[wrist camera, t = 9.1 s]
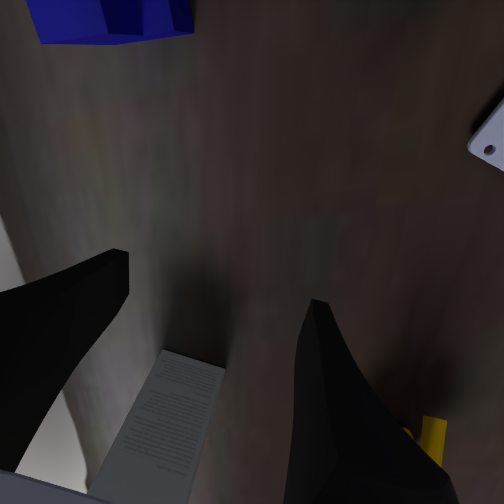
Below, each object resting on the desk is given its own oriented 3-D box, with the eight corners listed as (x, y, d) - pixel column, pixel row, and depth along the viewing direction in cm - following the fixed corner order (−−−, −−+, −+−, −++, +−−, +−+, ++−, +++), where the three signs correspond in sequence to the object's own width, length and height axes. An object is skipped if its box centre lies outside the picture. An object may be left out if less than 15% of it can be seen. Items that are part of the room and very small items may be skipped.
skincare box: (157, 377, 32) (81, 526, 22) (162, 346, 30) (80, 498, 20) (218, 397, 32) (171, 556, 22) (228, 368, 30) (180, 531, 20)
